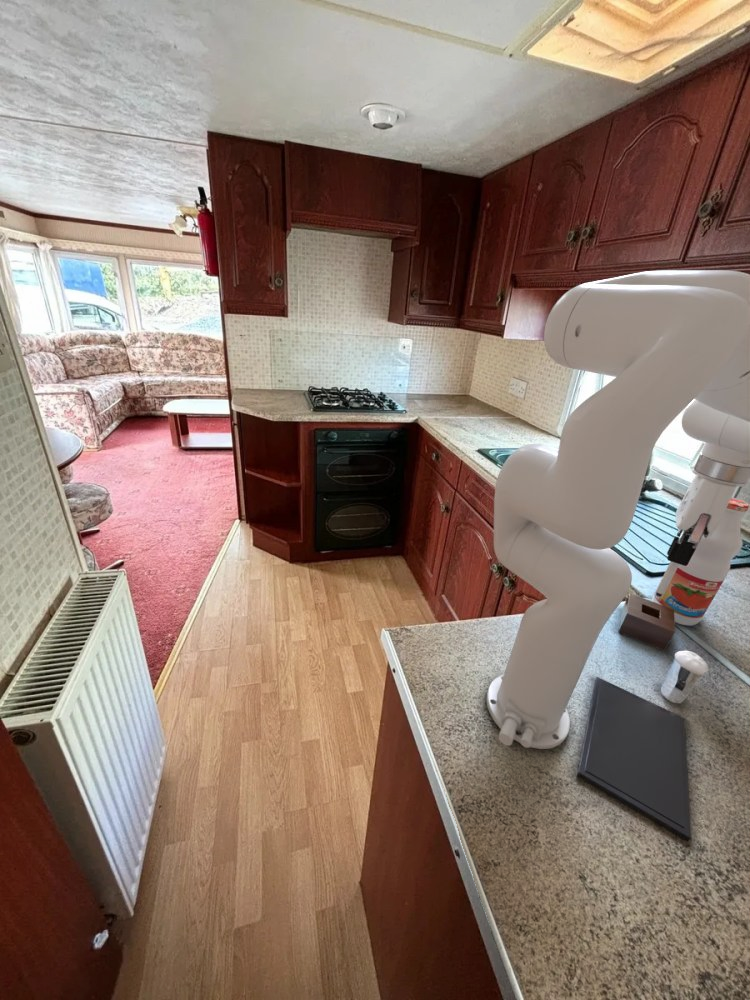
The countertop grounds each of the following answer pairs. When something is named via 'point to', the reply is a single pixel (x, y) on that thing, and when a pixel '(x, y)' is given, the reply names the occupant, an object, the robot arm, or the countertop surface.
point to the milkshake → (683, 675)
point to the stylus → (667, 578)
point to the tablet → (637, 756)
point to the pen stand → (647, 621)
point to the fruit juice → (705, 568)
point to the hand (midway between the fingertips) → (676, 559)
